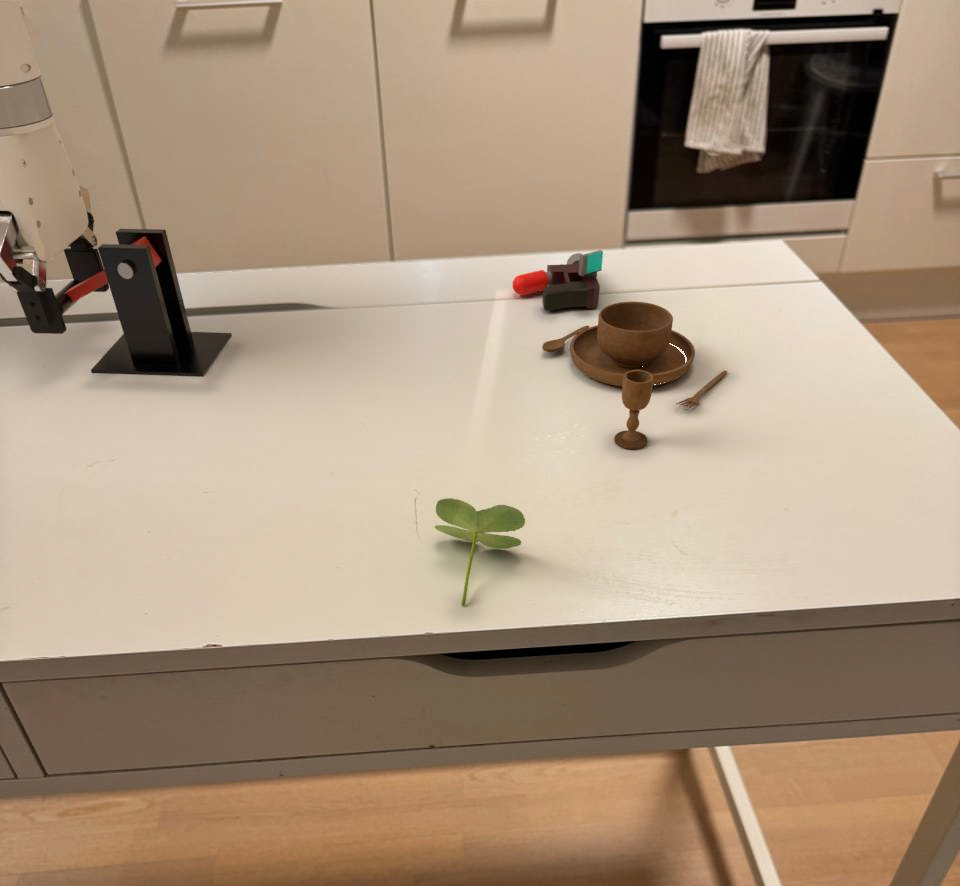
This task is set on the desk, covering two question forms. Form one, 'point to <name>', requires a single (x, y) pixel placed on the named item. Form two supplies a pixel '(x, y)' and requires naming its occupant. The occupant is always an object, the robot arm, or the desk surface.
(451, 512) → the green clover sprout
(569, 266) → the toy gun
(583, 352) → the place setting
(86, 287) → the lever
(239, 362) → the desk surface
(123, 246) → the bracket
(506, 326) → the desk surface
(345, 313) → the desk surface
